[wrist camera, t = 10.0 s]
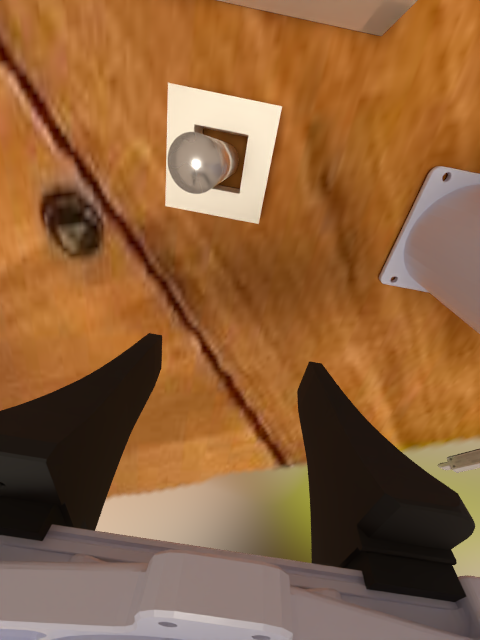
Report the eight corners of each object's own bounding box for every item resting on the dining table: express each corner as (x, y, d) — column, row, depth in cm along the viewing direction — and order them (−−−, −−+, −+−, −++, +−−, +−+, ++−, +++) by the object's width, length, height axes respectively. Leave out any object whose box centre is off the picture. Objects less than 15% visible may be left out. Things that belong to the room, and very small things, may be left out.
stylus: (241, 145, 17) (224, 138, 10) (236, 180, 18) (217, 198, 11) (210, 139, 17) (168, 126, 9) (206, 174, 18) (166, 188, 11)
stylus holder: (279, 112, 16) (282, 106, 14) (258, 216, 19) (258, 223, 17) (180, 92, 16) (168, 82, 14) (176, 200, 19) (165, 205, 17)
